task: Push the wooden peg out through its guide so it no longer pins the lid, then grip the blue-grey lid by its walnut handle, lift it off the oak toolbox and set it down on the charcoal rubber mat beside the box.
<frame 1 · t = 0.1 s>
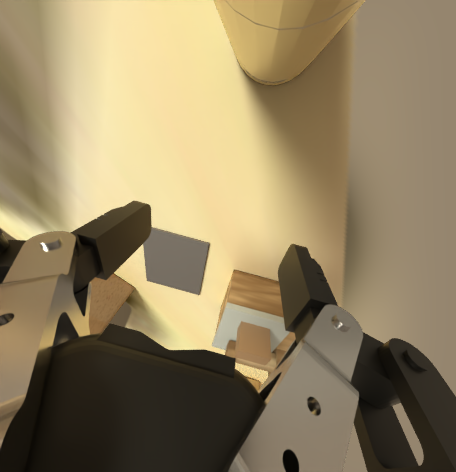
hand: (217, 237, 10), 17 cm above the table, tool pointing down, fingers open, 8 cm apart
lid: (248, 332, 33), point 8 cm above the table, touching toolbox
toolbox: (250, 296, 39), on the table
wooden block: (111, 282, 45), on the table
wooden peg: (258, 360, 32), point 11 cm above the table, slide at 0.0 cm
mat: (174, 263, 37), on the table
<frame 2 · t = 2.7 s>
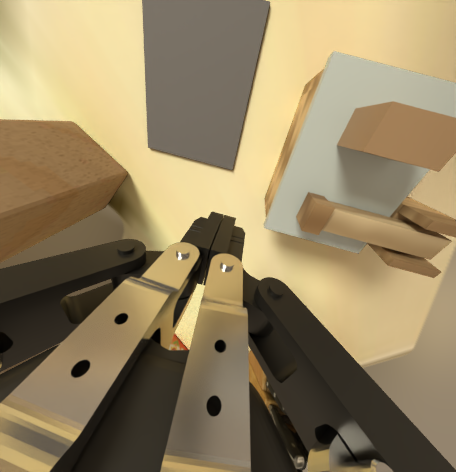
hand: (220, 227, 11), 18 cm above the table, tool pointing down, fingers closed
lid: (344, 175, 17), point 8 cm above the table, touching toolbox
toolbox: (320, 161, 23), on the table
knife block: (266, 353, 54), on the table
wooden block: (92, 169, 29), on the table
wooden peg: (368, 227, 16), point 11 cm above the table, slide at 0.0 cm
mat: (197, 90, 21), on the table
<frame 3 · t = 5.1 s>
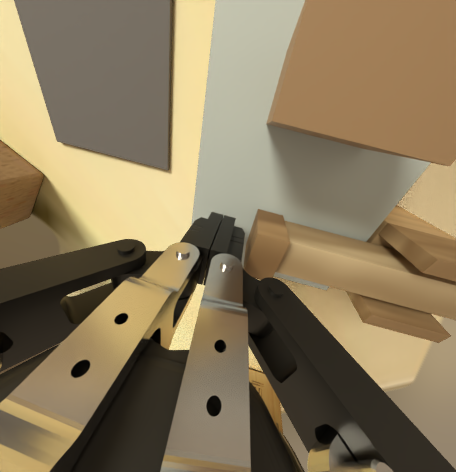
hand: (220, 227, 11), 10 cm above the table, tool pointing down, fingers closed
lid: (293, 176, 11), point 8 cm above the table, touching toolbox
toolbox: (280, 157, 17), on the table
knife block: (246, 378, 47), on the table
wooden block: (3, 170, 23), on the table
wooden peg: (354, 267, 10), point 11 cm above the table, slide at 1.4 cm, touching gripper
mat: (100, 59, 15), on the table
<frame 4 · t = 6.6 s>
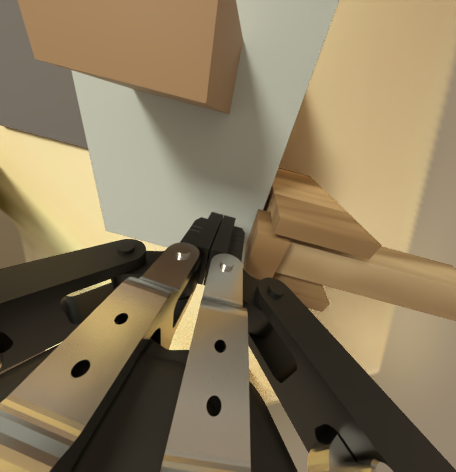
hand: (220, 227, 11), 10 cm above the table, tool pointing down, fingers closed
lid: (185, 147, 11), point 8 cm above the table, touching toolbox
toolbox: (213, 140, 17), on the table
wooden peg: (353, 268, 10), point 11 cm above the table, slide at 8.4 cm, touching gripper
mat: (26, 38, 15), on the table
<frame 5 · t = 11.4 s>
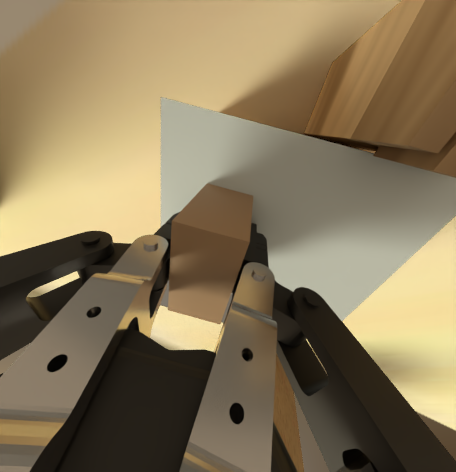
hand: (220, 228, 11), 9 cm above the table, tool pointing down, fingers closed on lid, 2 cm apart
lid: (274, 234, 11), point 8 cm above the table, touching gripper, toolbox
toolbox: (268, 195, 18), on the table
wooden block: (257, 357, 37), on the table
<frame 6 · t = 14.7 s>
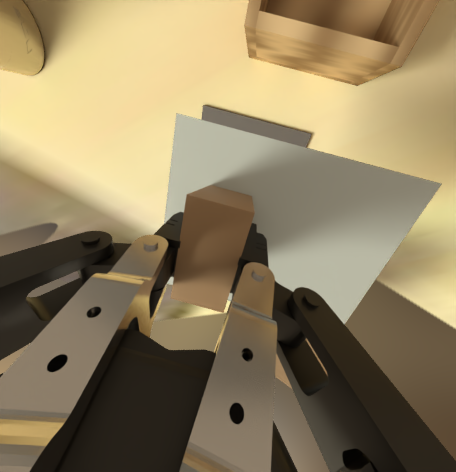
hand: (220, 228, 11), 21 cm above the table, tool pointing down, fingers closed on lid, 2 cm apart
lid: (270, 236, 12), point 20 cm above the table, tilted 11°, touching gripper
toolbox: (326, 3, 19), on the table
mat: (245, 166, 28), on the table
when the fingers open (4 cm above the table, at t = 17.9 s): lid stays where it is, resting on mat.
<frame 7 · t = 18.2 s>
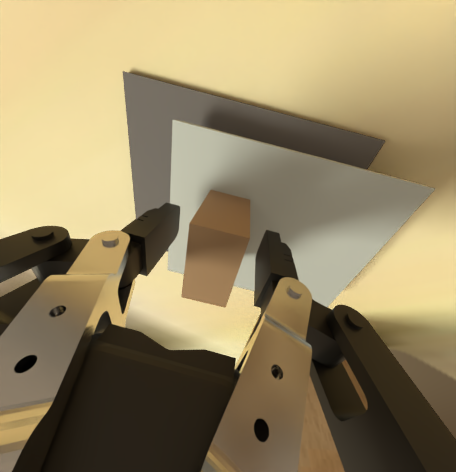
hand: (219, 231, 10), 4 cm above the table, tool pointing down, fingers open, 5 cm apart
lid: (268, 232, 13), point 1 cm above the table, touching mat
wooden block: (301, 343, 23), on the table
mat: (229, 203, 14), on the table
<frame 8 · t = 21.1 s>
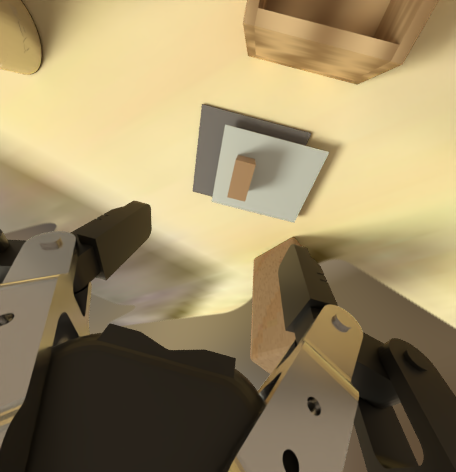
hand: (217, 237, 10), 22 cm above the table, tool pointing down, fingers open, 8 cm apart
lid: (263, 178, 27), point 1 cm above the table, touching mat
toolbox: (325, 1, 18), on the table
wooden block: (285, 262, 38), on the table
mat: (244, 165, 28), on the table
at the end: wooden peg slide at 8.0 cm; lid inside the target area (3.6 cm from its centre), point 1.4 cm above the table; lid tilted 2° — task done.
